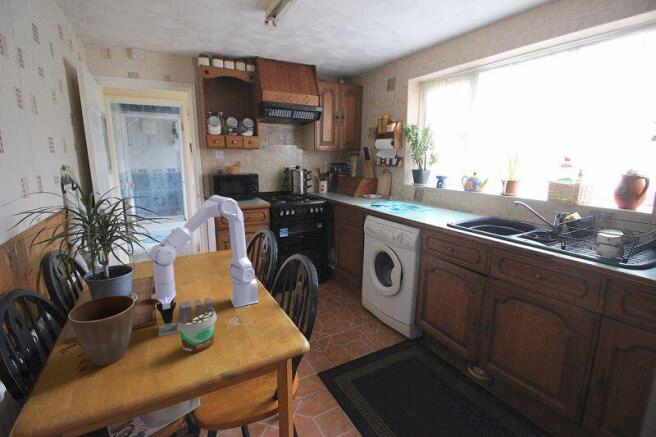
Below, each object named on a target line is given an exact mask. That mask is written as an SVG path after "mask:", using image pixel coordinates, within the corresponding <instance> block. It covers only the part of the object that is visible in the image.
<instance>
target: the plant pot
mask: <svg viewBox="0 0 656 437" xmlns="http://www.w3.org/2000/svg"><path fill="white" fill-rule="evenodd" d="M134 314H135V299H134V298H133V297H132V296H129V295H123V294H120V295H119V294H116V295H106V296H101V297H98V298H93V299H91V300H87V301H85V302H83V303H80V304H79V305H77V306H75V307H74V308H73V309H71V310H70V312H69V313H68V316H67V317H68V320H69V322H70V325H71V328H72V329H73V332H74V334H75V337H76V339H77V341H78V342H79V344H80V347H82V349H83V350H84V352H85V354H86V355H87V357H89V359H90V360H91V361H92V363H94V365H95V366H98V367H105V366H110V365H113V364H115V363H118V362H119V361H120V360H122V359H124V357H125V355H126V352H127V350H128V347H129V343H130V340H131V335H132V330H133V323H134Z"/></svg>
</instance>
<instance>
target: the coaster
mask: <svg viewBox="0 0 656 437" xmlns="http://www.w3.org/2000/svg"><path fill="white" fill-rule="evenodd" d="M176 333H180V331H179V330H178V331H177V322H176V323H171V329H168V330H166V327H165V325H162V326H158V337H161V336H166V335H171V334H172V335H173V334H176Z"/></svg>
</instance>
